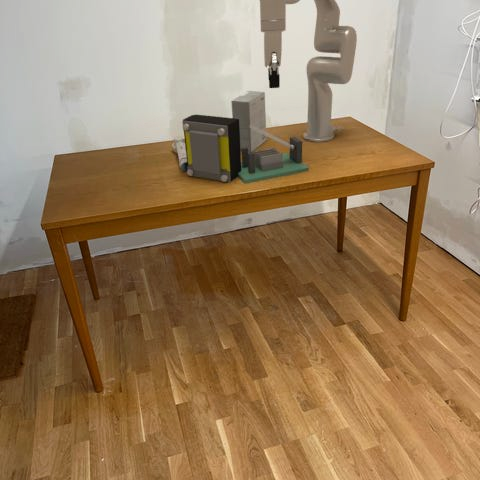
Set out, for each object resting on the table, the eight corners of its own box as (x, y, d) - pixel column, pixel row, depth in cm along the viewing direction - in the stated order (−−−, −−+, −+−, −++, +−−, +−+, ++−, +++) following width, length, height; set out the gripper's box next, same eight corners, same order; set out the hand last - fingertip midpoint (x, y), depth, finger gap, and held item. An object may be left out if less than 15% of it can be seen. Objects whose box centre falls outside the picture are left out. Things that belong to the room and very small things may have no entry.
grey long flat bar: (288, 146, 168) (290, 143, 167) (294, 150, 164) (296, 147, 164) (248, 127, 158) (250, 123, 158) (253, 130, 155) (255, 126, 154)
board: (288, 156, 176) (288, 132, 172) (308, 170, 163) (309, 145, 159) (228, 167, 169) (227, 143, 165) (245, 183, 156) (244, 157, 152)
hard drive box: (250, 138, 196) (248, 90, 186) (266, 140, 193) (266, 91, 183) (233, 151, 184) (230, 100, 174) (251, 153, 181) (249, 101, 171)
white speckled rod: (178, 162, 165) (170, 132, 184) (180, 179, 170) (172, 148, 189) (193, 161, 166) (183, 131, 185) (194, 177, 170) (185, 146, 190)
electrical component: (185, 177, 164) (178, 121, 154) (200, 167, 172) (195, 113, 162) (228, 185, 157) (224, 127, 147) (242, 174, 164) (240, 118, 154)
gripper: (260, 22, 147) (261, 78, 156) (260, 30, 133) (262, 91, 142) (284, 21, 147) (284, 77, 156) (287, 29, 132) (287, 90, 141)
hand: (273, 84), depth 149 cm, fingers open, 9 cm apart
